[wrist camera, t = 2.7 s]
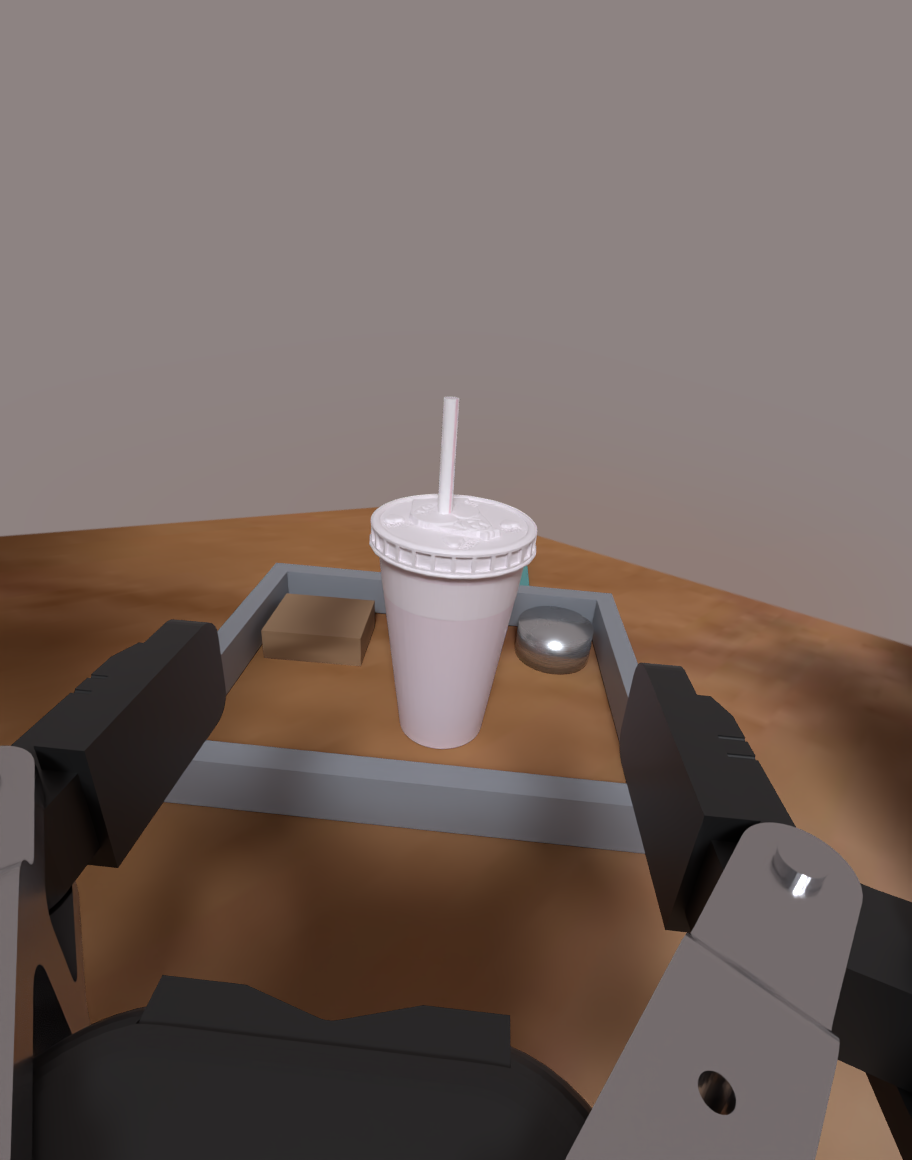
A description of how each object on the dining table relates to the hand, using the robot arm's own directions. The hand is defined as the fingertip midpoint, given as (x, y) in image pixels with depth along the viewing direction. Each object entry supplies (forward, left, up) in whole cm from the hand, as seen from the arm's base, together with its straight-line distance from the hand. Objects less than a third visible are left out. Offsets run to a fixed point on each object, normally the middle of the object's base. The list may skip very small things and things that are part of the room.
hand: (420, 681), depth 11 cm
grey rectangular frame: (-1, +13, -10) cm, 17 cm away
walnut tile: (-7, +17, -11) cm, 21 cm away
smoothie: (0, +11, -11) cm, 16 cm away
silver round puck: (+5, +18, -11) cm, 22 cm away
